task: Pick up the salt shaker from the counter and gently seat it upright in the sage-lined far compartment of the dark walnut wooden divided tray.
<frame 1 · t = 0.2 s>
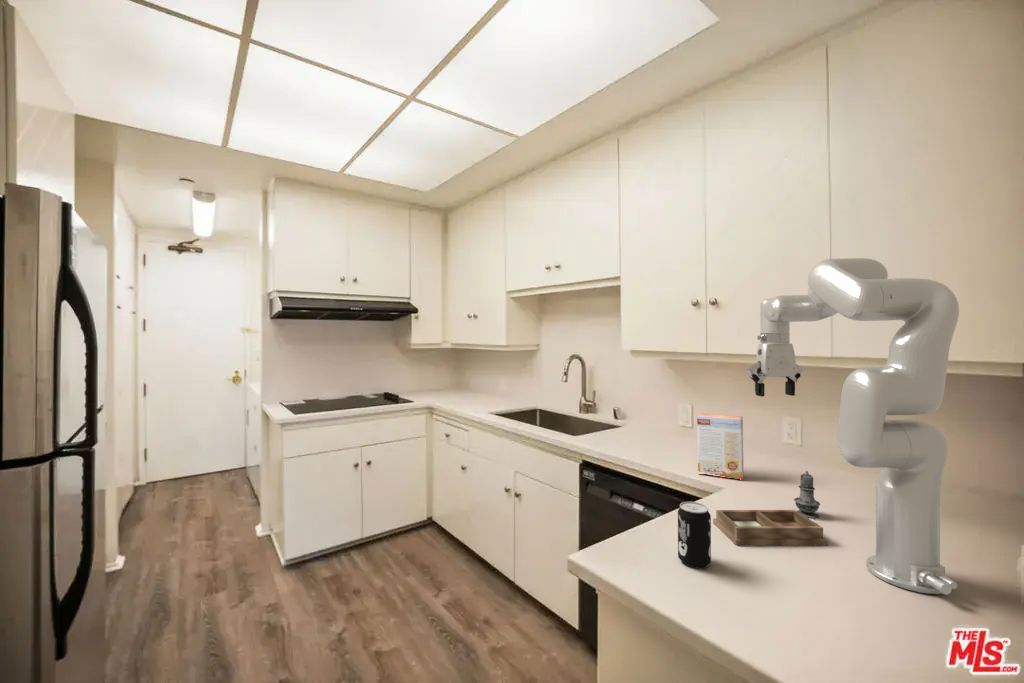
hand: (775, 395, 130), 30 cm above the worktop, tool pointing down, fingers open, 9 cm apart
wooden divided tray: (767, 533, 105), on the worktop
beverage can: (694, 562, 93), on the worktop
cracker box: (720, 476, 149), on the worktop
salt shaker: (807, 515, 116), on the worktop
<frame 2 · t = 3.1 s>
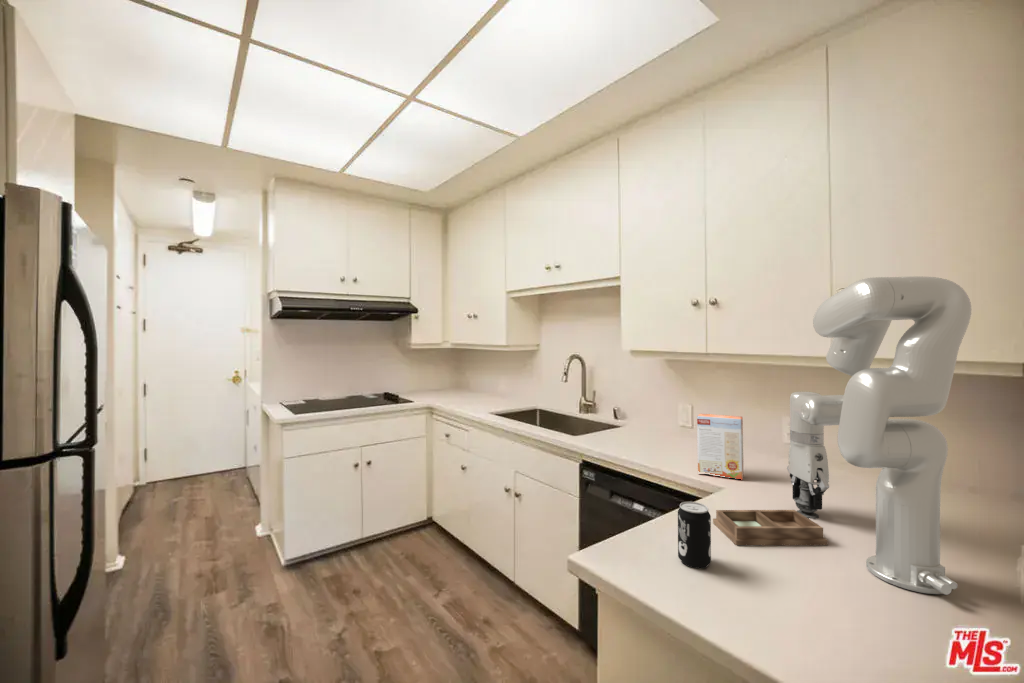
hand: (806, 503, 116), 3 cm above the worktop, tool pointing down, fingers closed on salt shaker, 5 cm apart
salt shaker: (807, 515, 116), on the worktop, touching gripper
everything else where it was.
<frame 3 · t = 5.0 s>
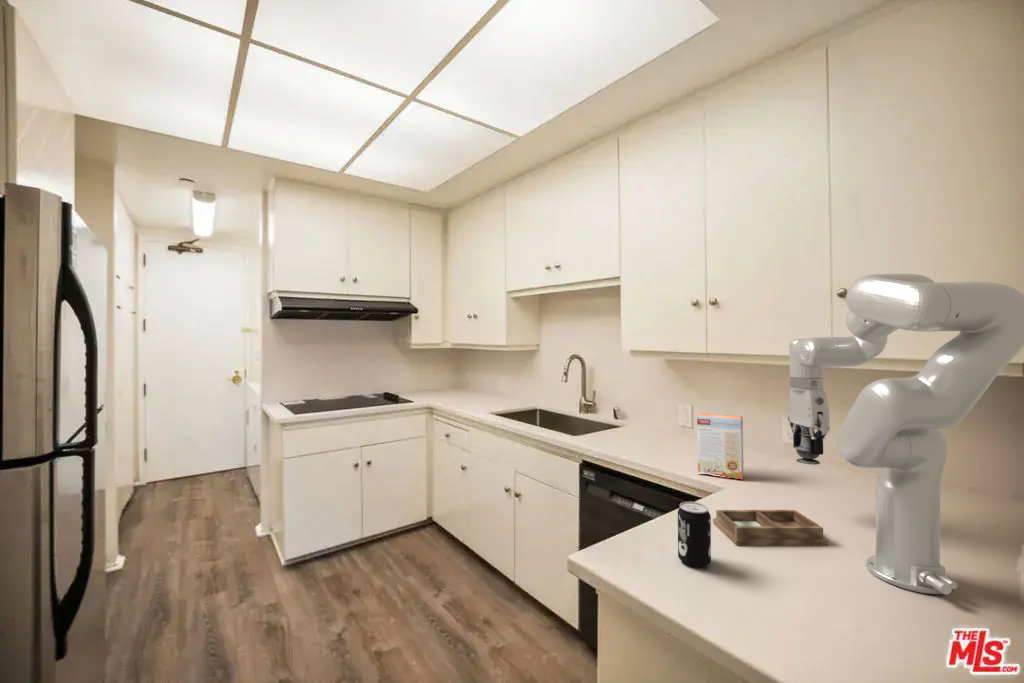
hand: (807, 450, 115), 18 cm above the worktop, tool pointing down, fingers closed on salt shaker, 5 cm apart
salt shaker: (808, 462, 115), point 14 cm above the worktop, touching gripper
everything else where it was.
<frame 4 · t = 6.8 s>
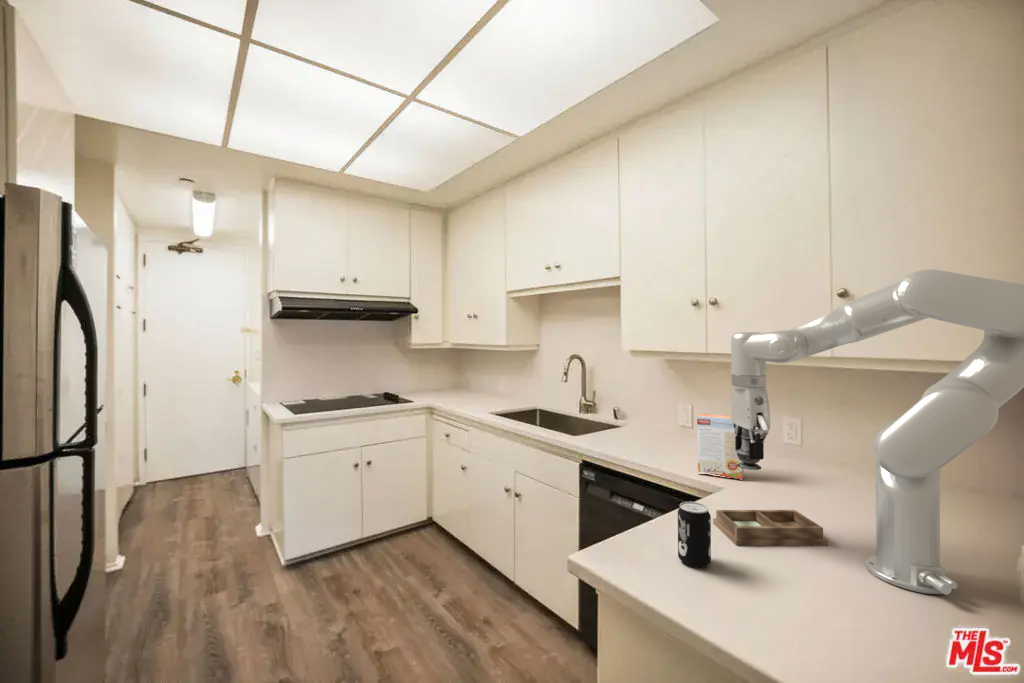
hand: (749, 454, 106), 19 cm above the worktop, tool pointing down, fingers closed on salt shaker, 5 cm apart
salt shaker: (749, 467, 106), point 16 cm above the worktop, touching gripper
everything else where it was.
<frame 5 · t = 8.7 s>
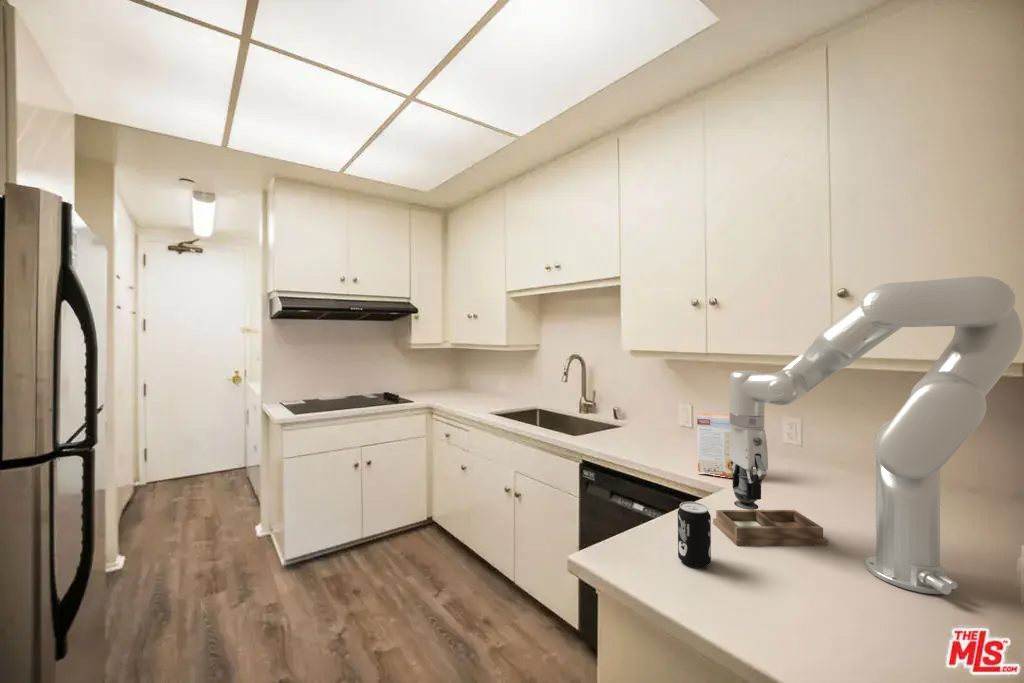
hand: (746, 493, 105), 10 cm above the worktop, tool pointing down, fingers closed on salt shaker, 5 cm apart
salt shaker: (746, 506, 106), point 7 cm above the worktop, touching gripper
everything else where it was.
when the fingers open (5 cm above the worktop, at t = 10.5 s): salt shaker stays where it is, resting on wooden divided tray.
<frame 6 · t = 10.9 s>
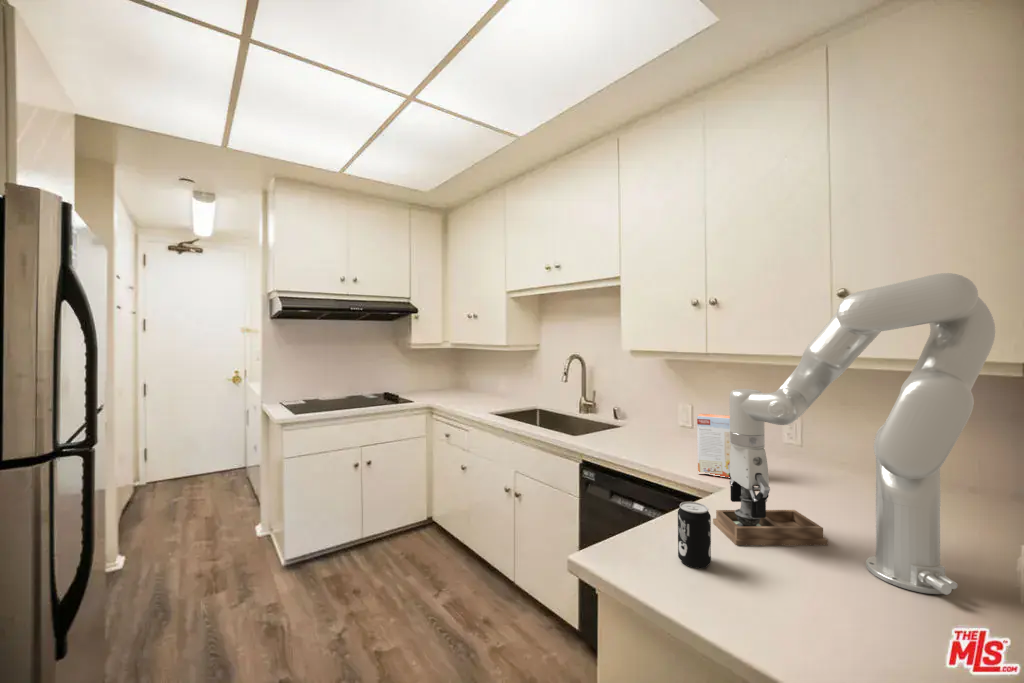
hand: (747, 509, 105), 6 cm above the worktop, tool pointing down, fingers open, 9 cm apart
salt shaker: (748, 528, 105), point 1 cm above the worktop, touching wooden divided tray
everything else where it was.
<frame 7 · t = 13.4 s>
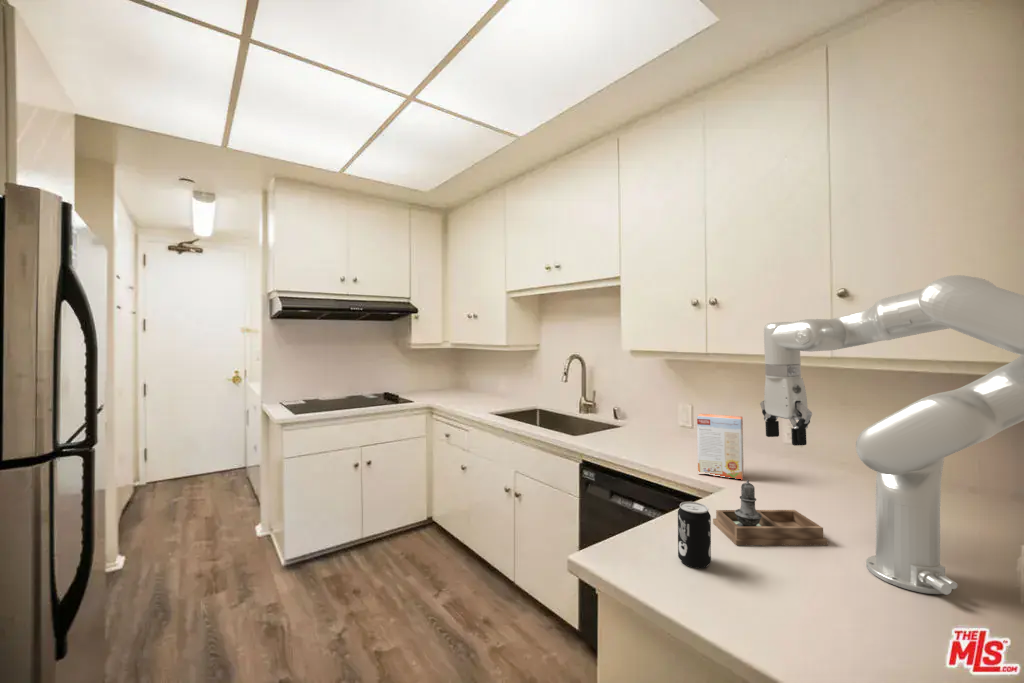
hand: (785, 440, 106), 23 cm above the worktop, tool pointing down, fingers open, 9 cm apart
nothing on the worktop moved.
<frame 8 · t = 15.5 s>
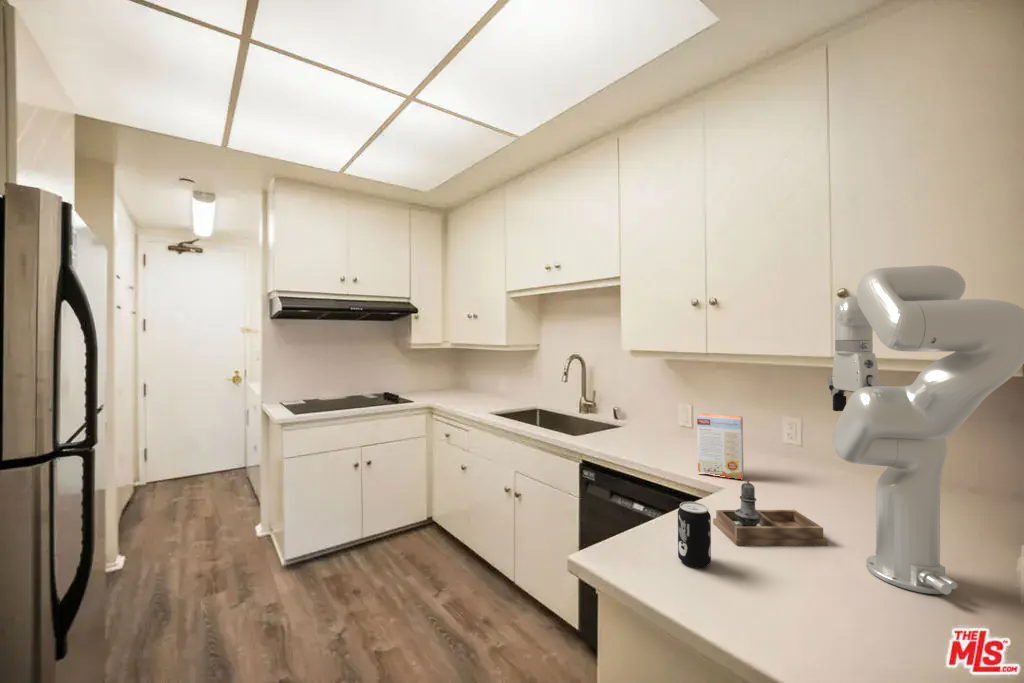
hand: (853, 414, 110), 28 cm above the worktop, tool pointing down, fingers open, 9 cm apart
nothing on the worktop moved.
at the end: salt shaker 0.2 cm from the target spot on the wooden divided tray, point 1.2 cm above the wooden divided tray's base; salt shaker tilted 0°; the gripper is holding nothing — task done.
